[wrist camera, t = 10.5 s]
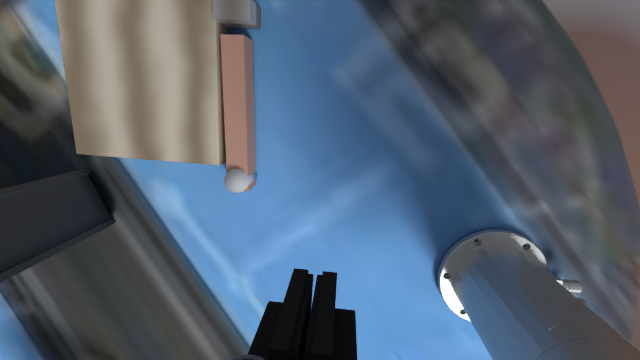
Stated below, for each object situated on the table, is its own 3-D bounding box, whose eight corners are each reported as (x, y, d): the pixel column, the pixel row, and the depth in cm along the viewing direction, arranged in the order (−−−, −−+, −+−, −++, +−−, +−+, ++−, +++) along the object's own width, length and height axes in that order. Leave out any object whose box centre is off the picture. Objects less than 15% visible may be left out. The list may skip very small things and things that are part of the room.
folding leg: (256, 185, 37) (247, 193, 33) (236, 183, 37) (225, 192, 34) (253, 40, 33) (243, 33, 29) (230, 40, 33) (217, 33, 30)
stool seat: (260, -4, 32) (250, -18, 28) (259, 162, 36) (249, 168, 33) (77, -12, 33) (45, -25, 30) (97, 150, 38) (72, 154, 34)
